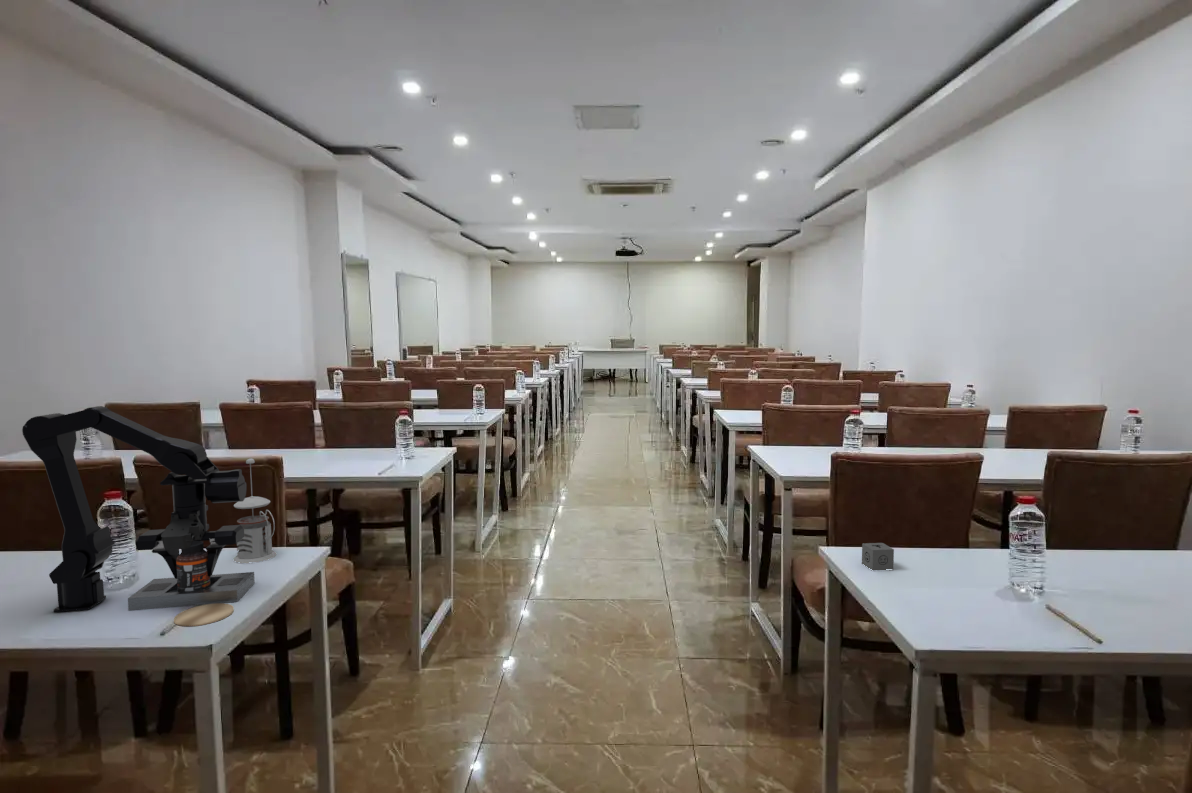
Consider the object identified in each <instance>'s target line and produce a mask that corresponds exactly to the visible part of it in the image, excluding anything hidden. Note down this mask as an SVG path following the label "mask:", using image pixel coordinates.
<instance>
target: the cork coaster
mask: <svg viewBox="0 0 1192 793" xmlns="http://www.w3.org/2000/svg"><path fill="white" fill-rule="evenodd" d="M234 610H235V609H234V606H233V605H232V604H229V603H215V604H204V605H196V606H194V607H191V608H188V609H185V610H183V611H181V612H179V613H178V614H176V616H174V619H173V623H174V624H175V625H176V626H179V627H199V626H204V625H205V626H206V625H210V624H213V623H216V622H220V621H222V620H224V619H226V618H228V617H230V616H231V615H232V614H233V613H234Z"/></svg>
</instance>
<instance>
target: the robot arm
mask: <svg viewBox="0 0 1192 793" xmlns="http://www.w3.org/2000/svg"><path fill="white" fill-rule="evenodd" d="M90 428H91V429H94V430H96V431H98V432H101V433H102V434H105V435H107V436H108V437H109V436H110V437H112V438H113V439H116V440H118V441H121V442H123V443H124V444H126V445H127V444H128V445H129V446H132V447H134V448H135V449H138V450H141V451H143V452H144V453H147V454H149V455H150V456H151V457H153V458H154V459H155V460H156V462H157V463H158V464H159V465H161V466H162V467H164V468H165V469H167V470H168V471H170V472H168V473H167V475H166V476H165V478H164V479H163V480H161V481H160V482H159V484H160V485H161V486H171V487H172V488H171V489H172V502H173V504H172V506H173V512H171V516H170V522H169V524H168V525H167V526H166V528H160V529H159V528H158V529H148V530H147V531H145V532H144V533H141V534H140V535H138V536H137V538H136V540H135V550H136V551H149V550H150V551H151V553H152V554H158V555H159V556H161V557H162V558H163V560H164V561H165V563H166V564H167V565H168V567H169V568H168V569H170V572H171V574H172V575H173V578H175V579H177V566H176V559H177V556H178V555H180V550H181V549H186V548H189V547H190V546H191V545H192V542H193V541H202V542H205V541H206V542H207V541H209V543H210V544H209V545H208V546H207V547H205V551H207V553H208V566H207V571H208V577H210V576H211V575H214V571H215V568H216V565H217V562H218V560H219V557H220V554H221V553H222V551H223V548H225V546H230V545H237V542H239V541H240V540H241V539H242V538H243V537H244V529H243V527H242V526H241V525H240V524H235V525H233V524H231V525H222V526H221V527H220V528H219V529H217V530H210V531H209V529H210V524H209V523H208V521H207V520H208V518H207V511H209V505H208V504H207V502H206V499H207V501H210V502H211V503H212V504H221V503H237V502H242V501H244V499H245V498H246V496H247V482H246V481H245V476H244V475H243V471H242V469H241V468H237V469H232V470H220V469H219V468H218V467H217V466H216V465H215V463H214V462H212V461H211V459H210V458H209V457H208V455H207V452H206V449H205V448H204V446H202V445H201V444H199V443H196V442H192V441H189V440H187V439H186V440H185V439H181V438H176V437H170V436H167V435H164V434H161V433H159V432H157V431H155V430H153V429H151V428H148V427H146V426H144V425H142V424H139V423H138V422H136V421H133V420H131V419H129V418H127V417H125V416H122V415H121V414H119V413H117V412H114V411H112V410H111V409H109V408H108V407H106V406H102V405H96V406H92V407H87V408H84V409H83V410H79V411H75V412H71V413H67V414H65V413H59V412H57V413H55V412H54V413H49V414H43V415H38V416H33V417H31V418H29V419H28V420H27V421H26V422H25V424H24V425H23V426H22V429H21V432H22V436H23V438H24V440H25V441H26V443H27V445H28V447H29V449H30V451H31V452H33V454H34V455H36V456H37V457H38V458H39V460H41V461H42V463H43V465H44V468H45V471H46V474H47V477H48V481H49V484H50V488H51V491H52V493H53V496H54V500H55V504H56V507H57V510H58V513H59V516H60V519H61V522H62V526H63V530H64V533H63V537H62V542H61V554H62V561H61V562H60V563H59V564H58V565H57V566H56V567H55V568H54V569H53V570H51V572H50V573H49V574H48V576H49V579H50V580H51V582H52V583H53V584H54V585H56V591H57V605H58V606H56V608H53V613H61V612H74V611H85V610H91V609H92V608H94V607H95V606H97V605H99V603H101V602H102V601H104V600H106V599H107V595H106V594H105V588H104V580H103V579H102V578H101V572H100V571H98V570H101V569H102V568H103V566H104V564H105V561H107V560H108V558H110V556H111V554H112V553H113V546H114V545H115V544H116V543H115V541H114V540H113V538H112V536H111V528H110V526H108V525H106V526H104V527H100V526H99V525H98V524H97V523H96V522H95V520H94V517H93V515H92V511H91V506H90V505H89V504H90V503H89V502H88V498H87V495H86V492H85V489H84V486H83V482H82V478H81V476H80V472H79V469H78V465H77V462H76V458H75V448H76V444H77V440H78V438H77V432H80V431H84V430H87V429H90Z"/></svg>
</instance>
